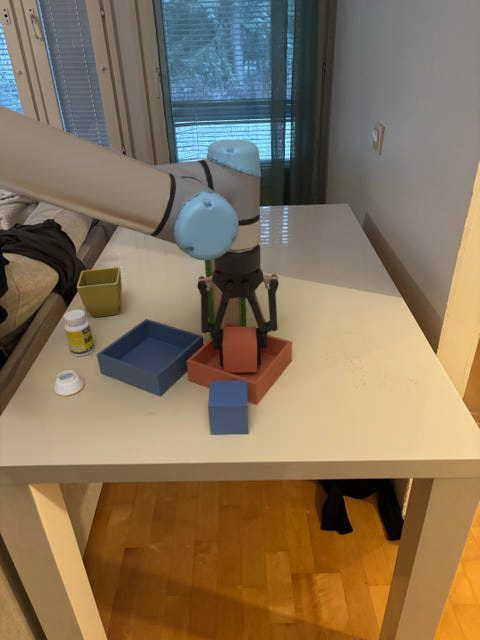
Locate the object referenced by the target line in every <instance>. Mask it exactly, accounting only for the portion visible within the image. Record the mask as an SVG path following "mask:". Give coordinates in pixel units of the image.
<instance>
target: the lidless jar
mask: <svg viewBox="0 0 480 640" xmlns="http://www.w3.org/2000/svg"><path fill="white" fill-rule="evenodd" d="M84 385H85V383H84V380H83V378H81V377H80V376H79V375H78V373H76V372H75V371H74V370H70V369H69V370H68V369H67V370H64V371H61V372H59V373H58V375H57V376H56V379H55V383H54V387H53V389H54V390H53V391H54V392H55V393H56V395H59V396H67V397H68V396H73V395H74V394H76V393H78V392H79V391H81V390H82V389H83V388H84Z"/></svg>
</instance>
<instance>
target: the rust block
mask: <svg viewBox="0 0 480 640" xmlns="http://www.w3.org/2000/svg"><path fill="white" fill-rule="evenodd" d="M256 328H257V326H246V327H223V344H222V346H223V365H224V371H225V372H228V373H235V372H257V339H256Z"/></svg>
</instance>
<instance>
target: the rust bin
mask: <svg viewBox="0 0 480 640" xmlns="http://www.w3.org/2000/svg"><path fill="white" fill-rule="evenodd" d="M224 327H238V326H234V325H231V324H227V325H226V326H224ZM292 356H293V341H292V340H287V339H284V338H280V337H276V336H273V335H270V334H267V347H266V348H261V365H259V366H257V372H235V373H228V372H225V371H224V366H220V354H219V349H214V348H213V341H212V338H211V339H208V341H206V343H204V345H203V346H202V347H201V348H200V349H199V350H198V351H197V352H196V353H195V354H193V355H192V356H191V357H190V358H189V359H188V360H187V370H188V371H187V378H188V381H189V382H192V383H194V384H197V385H200V386H202V387H205V388H207V389H209V388H210V381H237V380H247V397H248V403H251V404H253V405H256V406H258V404H259V403H260V402H261V401H262V399H263V398H264V397H265V396H266V394H267V393H268V392H269V390H270V389H271V388H272V386H273V385H274V384H275V383H276V382H277V380H278V379H279V378H280V377H281V375H282V374H283V372H284V371H285V370H286V369H287V368H288V366H290V364H291V362H292V360H293V359H292V358H293V357H292Z"/></svg>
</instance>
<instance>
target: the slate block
mask: <svg viewBox="0 0 480 640" xmlns="http://www.w3.org/2000/svg"><path fill="white" fill-rule="evenodd" d="M207 403H208V404H207V410H208V411H207V412H208V421H209V422H208V423H209V433H210V436H216V435H217V436H218V435H219V436H220V435H221V436H223V435H249V404H248V403H249V402H248V397H247V380H237V381H210V388H208V401H207Z"/></svg>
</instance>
